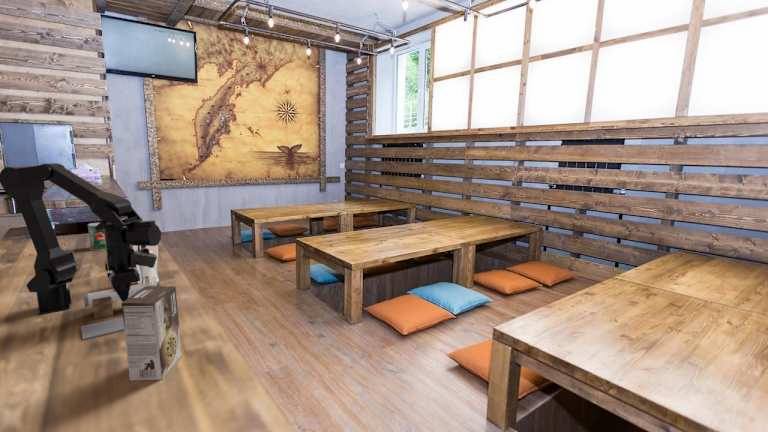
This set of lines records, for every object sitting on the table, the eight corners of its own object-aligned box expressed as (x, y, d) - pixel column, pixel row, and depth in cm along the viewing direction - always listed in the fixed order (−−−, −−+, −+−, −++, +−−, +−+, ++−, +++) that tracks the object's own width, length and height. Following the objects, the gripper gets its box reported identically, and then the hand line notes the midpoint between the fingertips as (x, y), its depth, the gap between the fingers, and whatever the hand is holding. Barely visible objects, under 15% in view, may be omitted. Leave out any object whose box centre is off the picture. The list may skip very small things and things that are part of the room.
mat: (82, 340, 89) (82, 338, 89) (81, 328, 95) (80, 326, 95) (177, 317, 102) (177, 316, 102) (170, 307, 108) (170, 306, 108)
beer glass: (149, 286, 124) (145, 241, 122) (131, 285, 126) (126, 240, 123) (165, 279, 131) (161, 237, 128) (148, 278, 132) (144, 235, 130)
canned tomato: (103, 250, 166) (101, 225, 165) (85, 250, 167) (82, 225, 165) (116, 246, 174) (114, 222, 172) (99, 245, 174) (96, 222, 173)
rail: (85, 307, 100) (84, 297, 99) (84, 303, 102) (83, 294, 101) (160, 292, 111) (159, 283, 110) (158, 289, 113) (157, 280, 112)
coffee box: (151, 356, 83) (145, 285, 80) (182, 355, 84) (177, 284, 81) (127, 381, 74) (119, 302, 71) (162, 380, 75) (155, 301, 72)
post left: (94, 319, 100) (92, 302, 99) (93, 312, 104) (91, 296, 104) (113, 315, 103) (111, 298, 102) (111, 309, 107) (109, 293, 106)
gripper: (159, 247, 102) (164, 303, 104) (146, 235, 116) (151, 284, 118) (108, 254, 95) (114, 313, 97) (101, 240, 109) (107, 292, 111)
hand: (124, 299), depth 106 cm, fingers closed on rail, 3 cm apart
